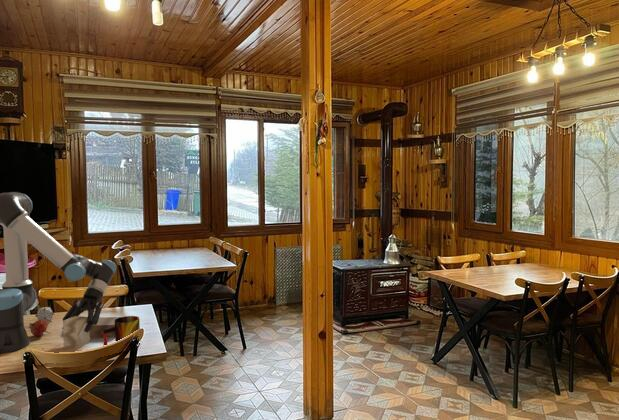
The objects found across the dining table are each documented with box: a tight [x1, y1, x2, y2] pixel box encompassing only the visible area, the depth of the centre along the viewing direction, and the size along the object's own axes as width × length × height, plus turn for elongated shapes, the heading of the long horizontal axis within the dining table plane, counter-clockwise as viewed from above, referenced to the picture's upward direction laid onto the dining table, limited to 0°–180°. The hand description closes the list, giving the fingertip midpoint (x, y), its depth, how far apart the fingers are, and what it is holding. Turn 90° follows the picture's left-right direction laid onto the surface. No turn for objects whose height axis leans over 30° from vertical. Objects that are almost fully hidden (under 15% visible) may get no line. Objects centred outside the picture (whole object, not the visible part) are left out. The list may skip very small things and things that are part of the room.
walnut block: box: [89, 316, 121, 339], centre depth 211 cm, size 12×12×6 cm
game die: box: [34, 305, 55, 323], centre depth 228 cm, size 9×8×10 cm
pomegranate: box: [29, 319, 51, 338], centre depth 209 cm, size 7×7×10 cm
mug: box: [103, 315, 141, 346], centre depth 191 cm, size 10×14×12 cm
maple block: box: [62, 315, 91, 348], centre depth 198 cm, size 7×7×11 cm
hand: (71, 337), depth 194 cm, fingers open, 8 cm apart
